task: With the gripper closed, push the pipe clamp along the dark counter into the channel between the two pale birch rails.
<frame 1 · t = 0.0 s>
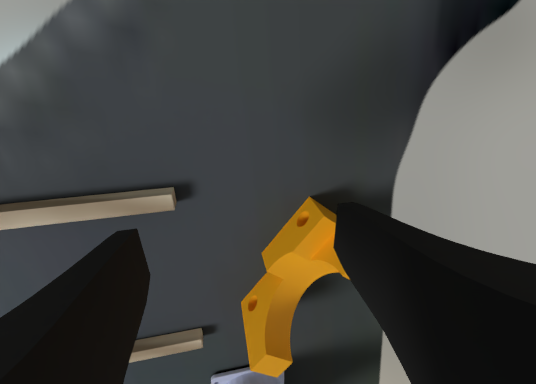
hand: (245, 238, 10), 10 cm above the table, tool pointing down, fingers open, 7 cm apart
rail channel: (114, 285, 21), on the table
pipe clamp: (282, 256, 24), on the table
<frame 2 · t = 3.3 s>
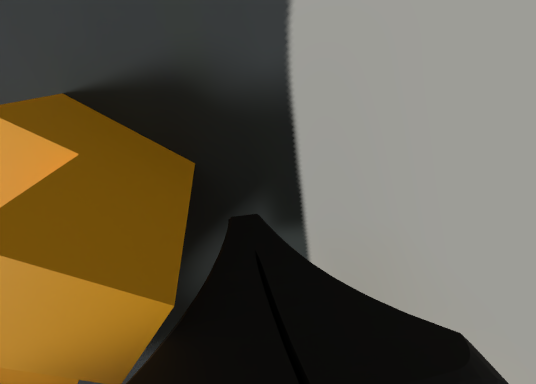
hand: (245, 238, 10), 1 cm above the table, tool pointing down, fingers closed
pipe clamp: (71, 259, 10), on the table, touching gripper
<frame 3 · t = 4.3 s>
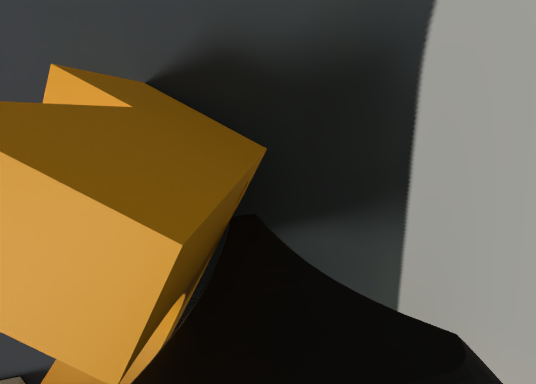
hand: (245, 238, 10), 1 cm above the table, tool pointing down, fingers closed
pipe clamp: (147, 258, 10), point 1 cm above the table, touching gripper
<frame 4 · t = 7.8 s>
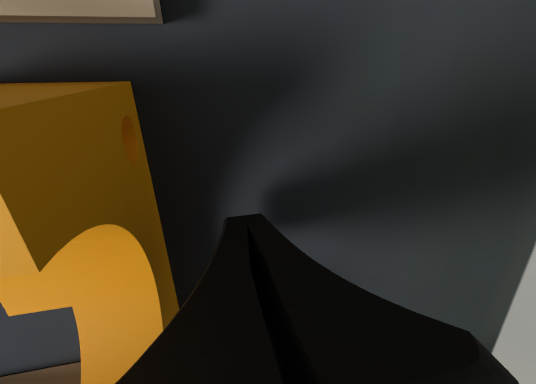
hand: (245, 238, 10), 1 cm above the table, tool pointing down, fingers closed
rail channel: (24, 244, 10), on the table
pipe clamp: (109, 243, 11), on the table
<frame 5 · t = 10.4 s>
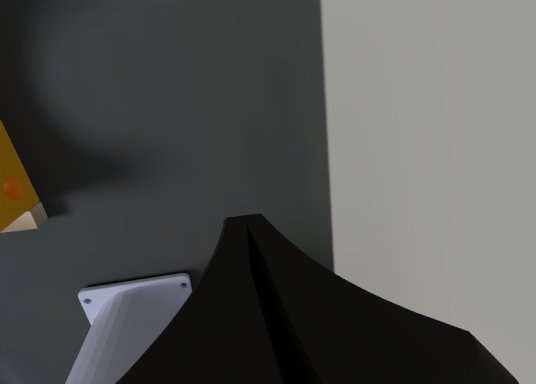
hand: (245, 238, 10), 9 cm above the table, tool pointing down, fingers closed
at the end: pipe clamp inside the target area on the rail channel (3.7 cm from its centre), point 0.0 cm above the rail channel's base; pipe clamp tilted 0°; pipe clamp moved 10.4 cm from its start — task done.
